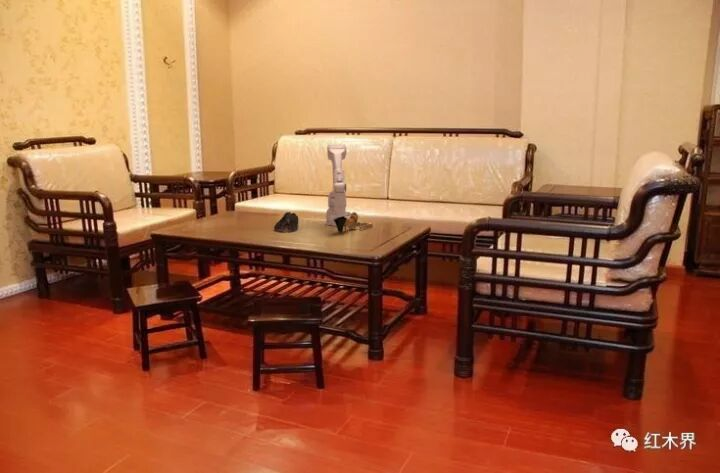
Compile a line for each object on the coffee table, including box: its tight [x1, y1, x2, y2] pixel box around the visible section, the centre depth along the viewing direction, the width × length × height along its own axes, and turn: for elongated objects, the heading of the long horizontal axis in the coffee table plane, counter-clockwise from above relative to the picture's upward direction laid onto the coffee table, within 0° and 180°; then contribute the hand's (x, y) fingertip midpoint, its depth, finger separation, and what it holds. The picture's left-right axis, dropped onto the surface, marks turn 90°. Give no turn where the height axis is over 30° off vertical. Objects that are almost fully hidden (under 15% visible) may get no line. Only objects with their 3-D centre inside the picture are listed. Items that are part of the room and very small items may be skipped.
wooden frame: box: [347, 221, 373, 232], centre depth 311 cm, size 9×10×2 cm
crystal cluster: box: [273, 211, 300, 233], centre depth 307 cm, size 13×14×10 cm
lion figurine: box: [343, 211, 359, 233], centre depth 304 cm, size 15×5×9 cm, turn 145°
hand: (340, 231), depth 299 cm, fingers closed
